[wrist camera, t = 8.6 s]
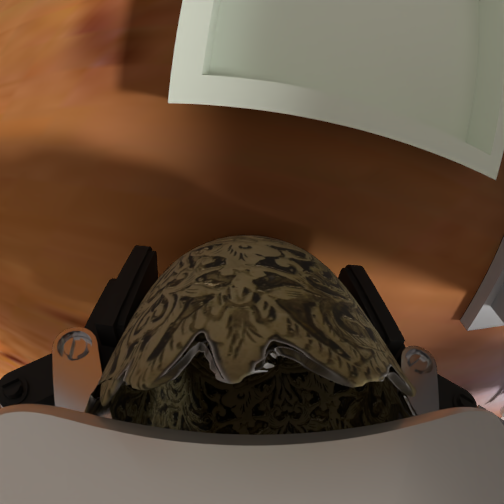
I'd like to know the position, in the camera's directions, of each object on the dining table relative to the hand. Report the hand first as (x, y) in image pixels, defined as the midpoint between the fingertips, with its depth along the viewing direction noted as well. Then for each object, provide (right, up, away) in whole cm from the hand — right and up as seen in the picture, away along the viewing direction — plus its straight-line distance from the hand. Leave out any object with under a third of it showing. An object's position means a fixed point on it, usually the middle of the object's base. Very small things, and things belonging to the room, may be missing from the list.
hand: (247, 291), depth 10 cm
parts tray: (+4, +11, -4) cm, 12 cm away
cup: (0, +1, +2) cm, 2 cm away
